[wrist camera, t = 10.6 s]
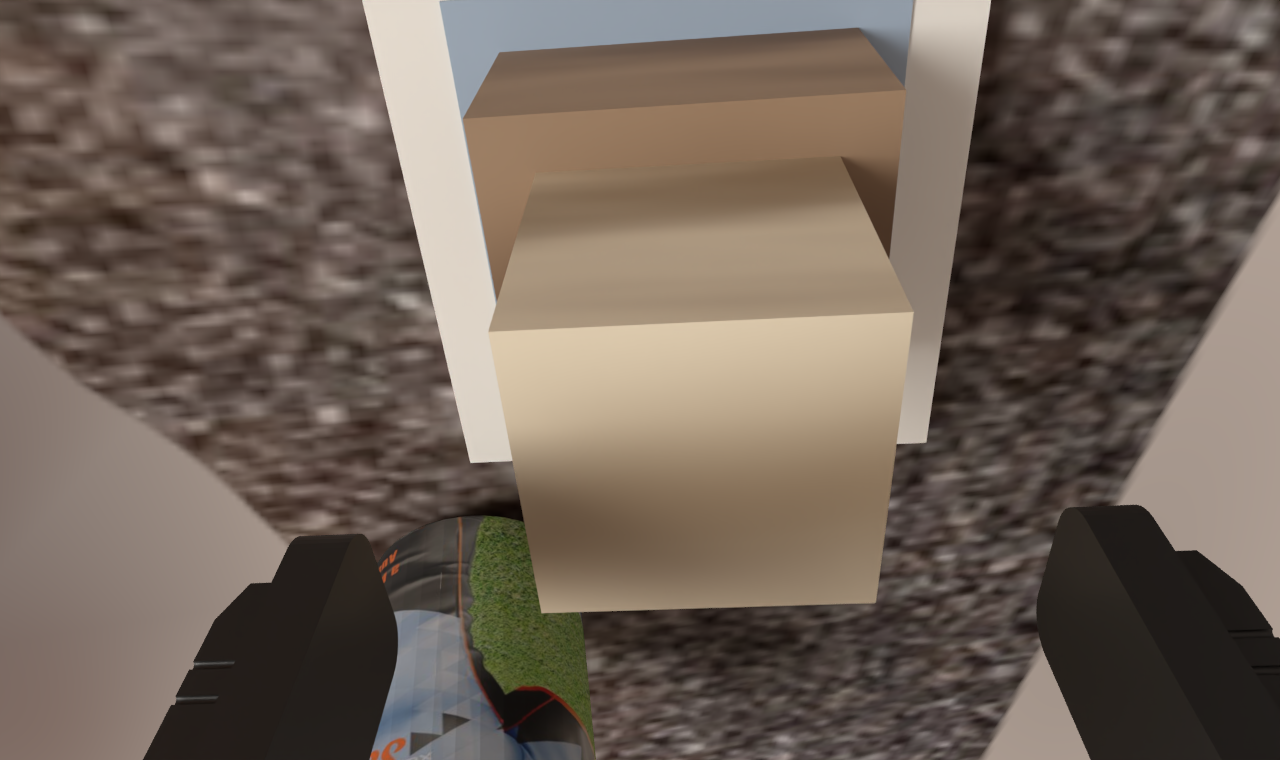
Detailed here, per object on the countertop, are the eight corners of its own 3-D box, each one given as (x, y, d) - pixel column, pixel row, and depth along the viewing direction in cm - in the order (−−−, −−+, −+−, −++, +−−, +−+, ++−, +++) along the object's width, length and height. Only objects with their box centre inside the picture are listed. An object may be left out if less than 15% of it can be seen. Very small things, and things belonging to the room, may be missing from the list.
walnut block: (499, 52, 17) (462, 119, 14) (858, 27, 17) (906, 90, 14) (545, 350, 21) (525, 456, 18) (837, 335, 21) (870, 440, 18)
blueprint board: (314, -283, 15) (293, -286, 14) (1021, -347, 15) (1044, -354, 14) (476, 439, 24) (469, 465, 23) (916, 419, 24) (927, 444, 23)
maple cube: (535, 173, 15) (487, 332, 10) (840, 155, 14) (914, 312, 10) (568, 414, 17) (542, 613, 13) (823, 403, 17) (875, 602, 13)
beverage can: (386, 472, 25) (212, 926, 15) (640, 508, 26) (630, 966, 16) (383, 616, 29) (241, 1061, 19) (607, 645, 29) (582, 1089, 19)
